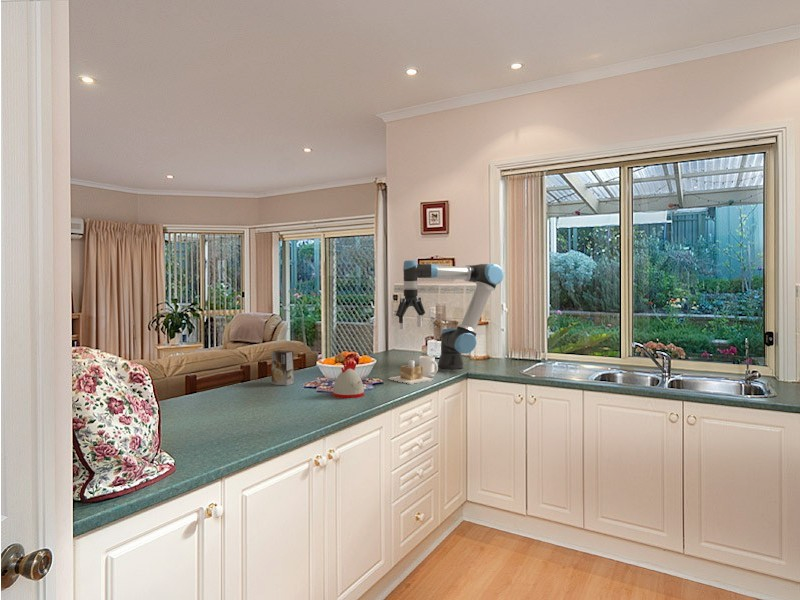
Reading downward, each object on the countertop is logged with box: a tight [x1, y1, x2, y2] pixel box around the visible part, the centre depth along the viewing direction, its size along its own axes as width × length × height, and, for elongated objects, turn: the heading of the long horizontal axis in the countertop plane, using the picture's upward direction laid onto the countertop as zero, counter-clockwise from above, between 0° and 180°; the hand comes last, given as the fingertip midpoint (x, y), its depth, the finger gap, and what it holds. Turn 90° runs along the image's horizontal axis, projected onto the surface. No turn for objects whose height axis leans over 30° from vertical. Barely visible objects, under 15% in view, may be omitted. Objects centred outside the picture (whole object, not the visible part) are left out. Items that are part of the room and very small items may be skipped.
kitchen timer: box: [332, 361, 365, 399], centre depth 232 cm, size 14×14×15 cm
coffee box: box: [270, 349, 295, 387], centre depth 253 cm, size 9×6×16 cm
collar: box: [399, 364, 423, 380], centre depth 267 cm, size 8×8×6 cm
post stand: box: [388, 359, 434, 385], centre depth 267 cm, size 16×16×10 cm
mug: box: [418, 355, 439, 378], centre depth 277 cm, size 12×8×10 cm
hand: (410, 328), depth 283 cm, fingers open, 13 cm apart
